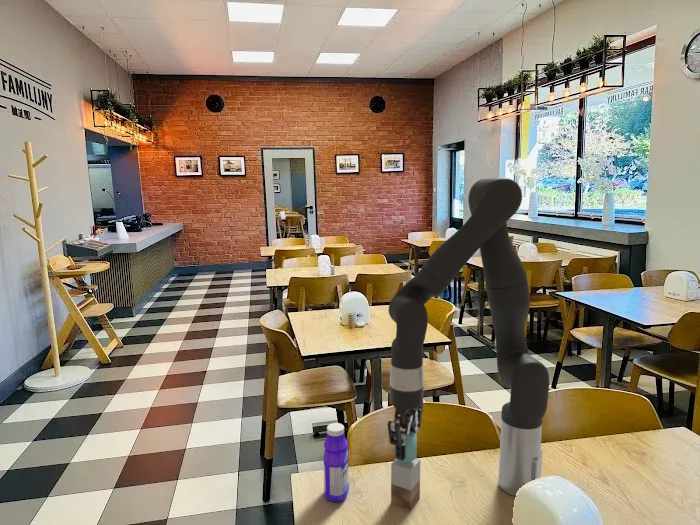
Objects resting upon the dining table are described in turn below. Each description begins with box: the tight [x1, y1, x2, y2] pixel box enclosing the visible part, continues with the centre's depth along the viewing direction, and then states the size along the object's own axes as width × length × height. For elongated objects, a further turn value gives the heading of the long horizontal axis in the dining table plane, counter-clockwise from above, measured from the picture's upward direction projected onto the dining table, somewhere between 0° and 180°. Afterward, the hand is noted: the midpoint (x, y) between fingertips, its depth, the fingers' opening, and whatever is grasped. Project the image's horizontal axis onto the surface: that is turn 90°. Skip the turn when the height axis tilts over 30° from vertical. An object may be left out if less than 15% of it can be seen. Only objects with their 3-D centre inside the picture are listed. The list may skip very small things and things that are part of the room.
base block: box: [390, 479, 421, 511], centre depth 112 cm, size 5×5×5 cm
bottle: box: [323, 422, 350, 503], centre depth 114 cm, size 7×6×17 cm
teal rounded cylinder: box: [398, 429, 418, 462], centre depth 110 cm, size 5×5×5 cm
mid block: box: [390, 457, 421, 490], centre depth 111 cm, size 5×5×5 cm
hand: (405, 452), depth 110 cm, fingers closed on teal rounded cylinder, 5 cm apart
